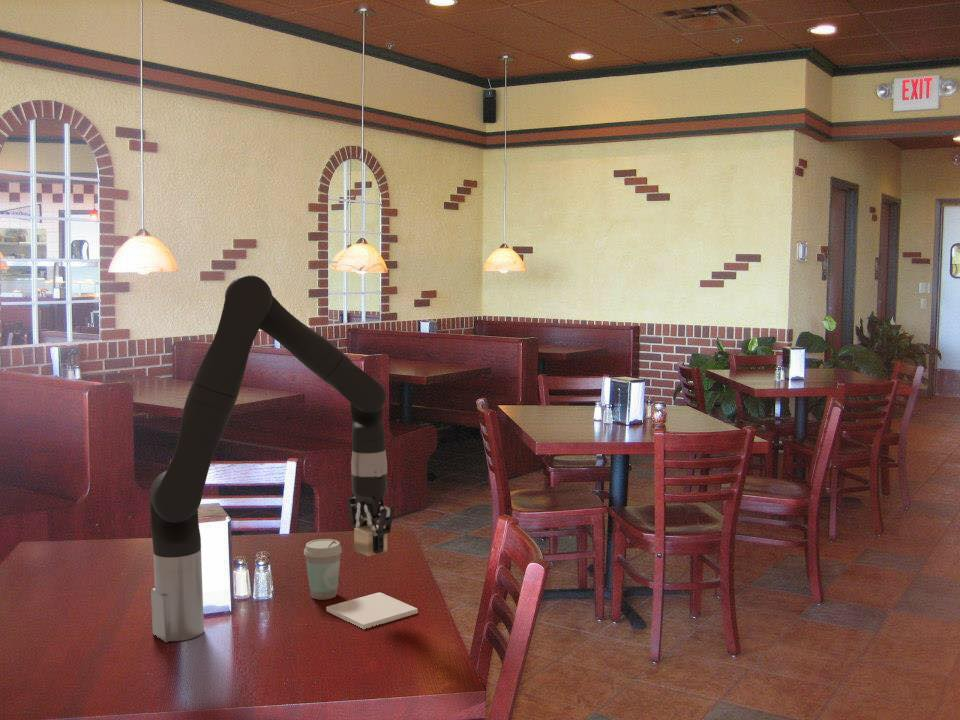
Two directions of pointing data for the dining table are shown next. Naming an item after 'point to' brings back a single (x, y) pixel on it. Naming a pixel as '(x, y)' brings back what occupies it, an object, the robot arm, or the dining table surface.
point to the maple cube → (366, 540)
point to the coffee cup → (323, 567)
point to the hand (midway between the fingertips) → (370, 549)
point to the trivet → (371, 610)
